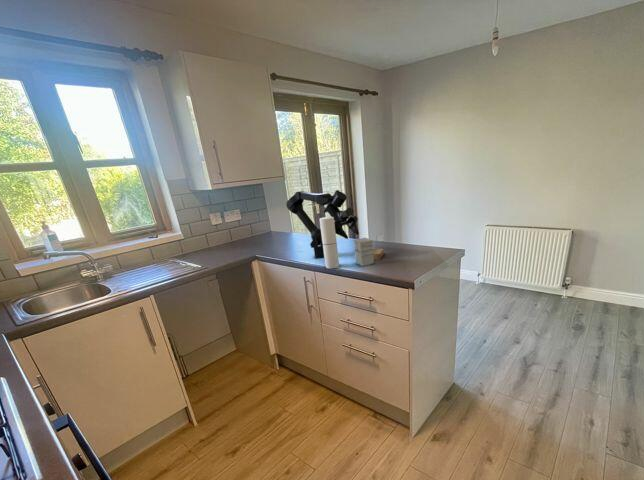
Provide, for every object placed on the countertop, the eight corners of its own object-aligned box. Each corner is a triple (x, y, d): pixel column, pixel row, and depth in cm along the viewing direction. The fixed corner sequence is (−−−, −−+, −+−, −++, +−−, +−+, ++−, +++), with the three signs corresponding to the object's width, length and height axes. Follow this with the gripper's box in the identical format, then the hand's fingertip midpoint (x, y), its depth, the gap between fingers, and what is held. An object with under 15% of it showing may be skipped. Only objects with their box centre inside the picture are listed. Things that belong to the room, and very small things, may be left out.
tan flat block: (360, 259, 171) (360, 253, 170) (365, 254, 180) (365, 248, 179) (380, 259, 168) (379, 253, 167) (384, 253, 176) (383, 248, 175)
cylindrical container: (322, 267, 164) (316, 219, 154) (332, 263, 168) (326, 216, 158) (332, 269, 159) (326, 219, 149) (342, 265, 164) (336, 217, 154)
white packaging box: (355, 263, 165) (353, 239, 160) (367, 260, 168) (365, 237, 163) (361, 266, 159) (359, 242, 154) (374, 263, 162) (372, 239, 157)
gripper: (331, 205, 153) (350, 230, 151) (354, 200, 166) (371, 222, 164) (321, 220, 160) (338, 244, 159) (343, 214, 174) (360, 235, 172)
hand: (353, 236), depth 163 cm, fingers open, 9 cm apart
